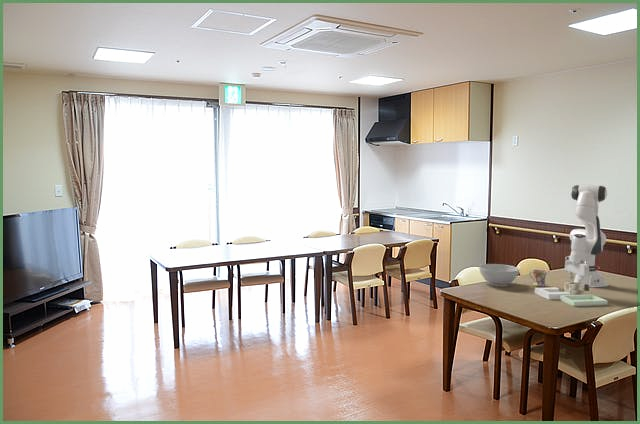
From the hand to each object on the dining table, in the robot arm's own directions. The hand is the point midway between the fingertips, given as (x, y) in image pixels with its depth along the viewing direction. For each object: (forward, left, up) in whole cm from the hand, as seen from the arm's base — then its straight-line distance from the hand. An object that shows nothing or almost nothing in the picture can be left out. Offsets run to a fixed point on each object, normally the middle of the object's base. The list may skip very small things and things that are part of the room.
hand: (576, 280), depth 333 cm
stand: (+16, 0, -10) cm, 19 cm away
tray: (+6, +17, -10) cm, 20 cm away
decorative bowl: (+36, -33, -10) cm, 50 cm away
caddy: (-2, 0, -10) cm, 10 cm away
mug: (+10, -27, -10) cm, 31 cm away
